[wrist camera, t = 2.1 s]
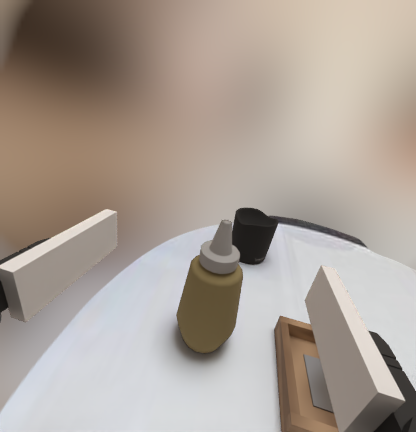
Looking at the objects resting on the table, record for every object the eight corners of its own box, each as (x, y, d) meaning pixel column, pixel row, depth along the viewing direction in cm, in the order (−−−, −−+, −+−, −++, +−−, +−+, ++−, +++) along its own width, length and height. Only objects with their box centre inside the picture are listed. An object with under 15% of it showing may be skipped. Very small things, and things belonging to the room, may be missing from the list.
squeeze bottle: (174, 309, 34) (188, 204, 26) (224, 311, 35) (251, 210, 28) (172, 363, 26) (191, 238, 19) (235, 362, 28) (275, 245, 20)
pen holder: (227, 261, 47) (236, 221, 43) (227, 240, 56) (235, 205, 52) (269, 269, 47) (282, 229, 43) (262, 246, 56) (273, 211, 52)
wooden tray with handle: (438, 379, 30) (452, 366, 29) (552, 539, 18) (583, 529, 17) (274, 329, 33) (280, 315, 32) (282, 439, 22) (291, 424, 20)
